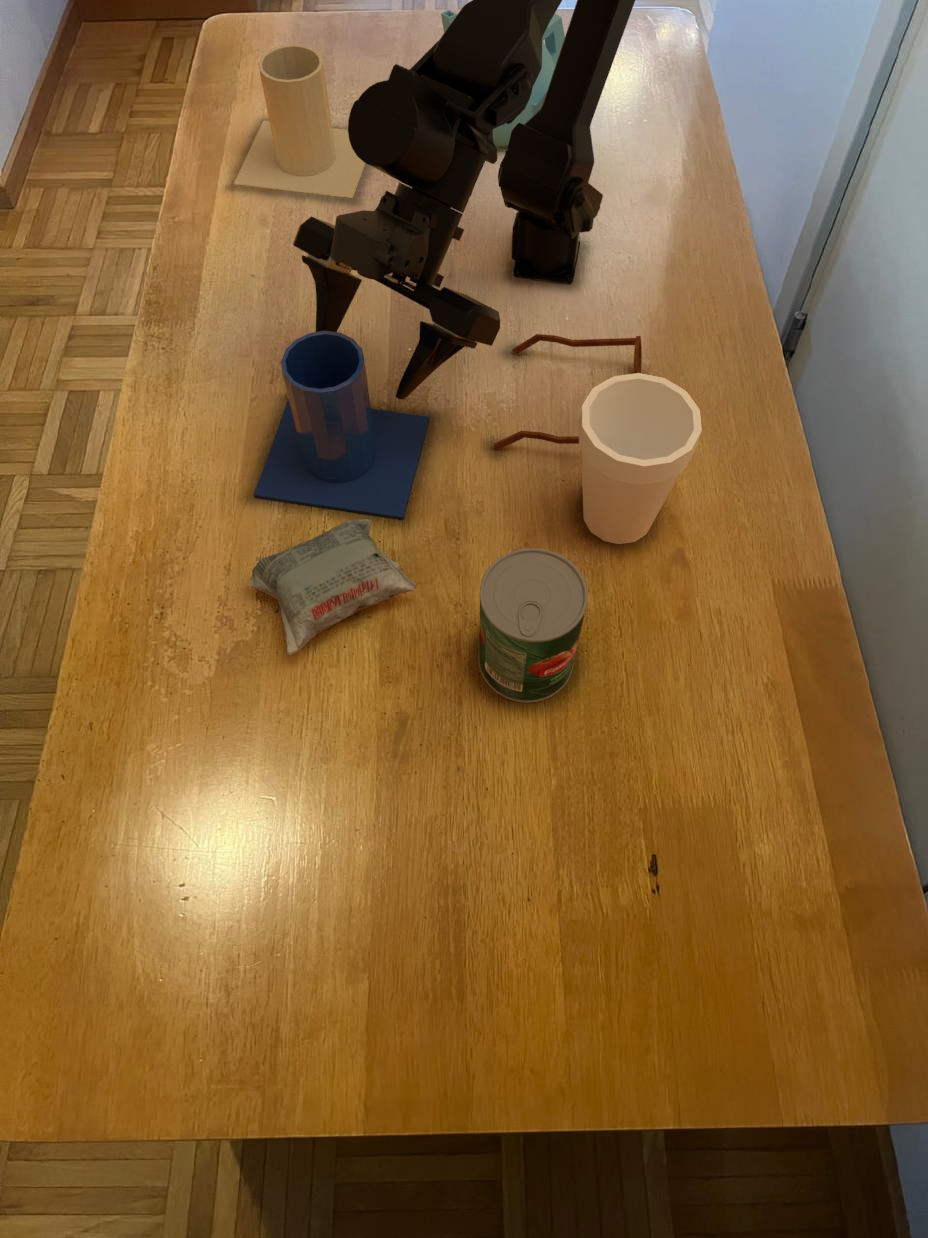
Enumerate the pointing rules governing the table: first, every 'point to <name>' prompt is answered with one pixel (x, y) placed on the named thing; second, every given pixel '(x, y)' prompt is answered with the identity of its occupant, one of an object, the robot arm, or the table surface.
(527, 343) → the glasses
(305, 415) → the blue cup
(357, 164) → the cream mat
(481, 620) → the canned tomato
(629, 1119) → the table surface
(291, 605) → the packaged food
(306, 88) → the cream cup
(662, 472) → the foam cup
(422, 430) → the blue mat
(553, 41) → the teapot
